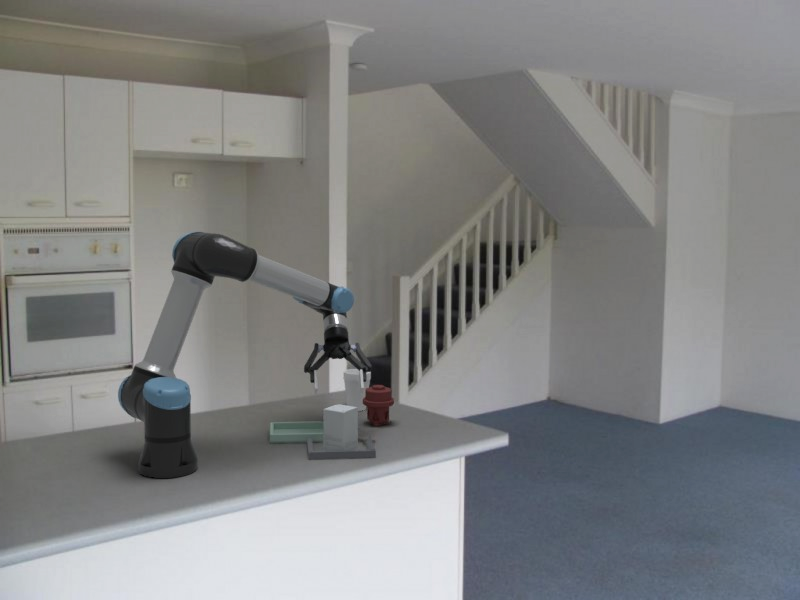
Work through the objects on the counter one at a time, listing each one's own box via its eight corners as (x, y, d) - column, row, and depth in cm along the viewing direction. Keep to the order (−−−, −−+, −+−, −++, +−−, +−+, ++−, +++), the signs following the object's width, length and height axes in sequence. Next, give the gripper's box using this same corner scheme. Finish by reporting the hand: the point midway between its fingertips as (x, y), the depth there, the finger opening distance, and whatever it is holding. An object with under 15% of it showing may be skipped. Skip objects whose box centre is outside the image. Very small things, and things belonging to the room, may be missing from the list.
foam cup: (340, 411, 280) (340, 373, 278) (346, 404, 289) (346, 368, 287) (367, 412, 278) (368, 374, 277) (373, 406, 287) (373, 369, 286)
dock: (308, 459, 227) (308, 452, 227) (307, 444, 241) (307, 437, 241) (375, 457, 230) (375, 450, 229) (369, 442, 244) (370, 436, 244)
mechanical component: (396, 421, 269) (390, 429, 259) (366, 418, 271) (359, 426, 261) (397, 383, 267) (390, 390, 257) (367, 381, 269) (359, 388, 259)
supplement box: (358, 450, 236) (359, 407, 235) (343, 456, 230) (343, 412, 229) (337, 445, 240) (338, 403, 239) (322, 452, 234) (322, 408, 233)
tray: (269, 443, 241) (269, 435, 241) (270, 430, 255) (270, 422, 255) (338, 441, 244) (338, 433, 244) (335, 429, 258) (335, 420, 257)
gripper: (374, 339, 261) (380, 396, 248) (295, 339, 258) (296, 398, 245) (377, 324, 255) (382, 383, 242) (295, 325, 252) (296, 384, 239)
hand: (339, 390), depth 243 cm, fingers open, 13 cm apart
